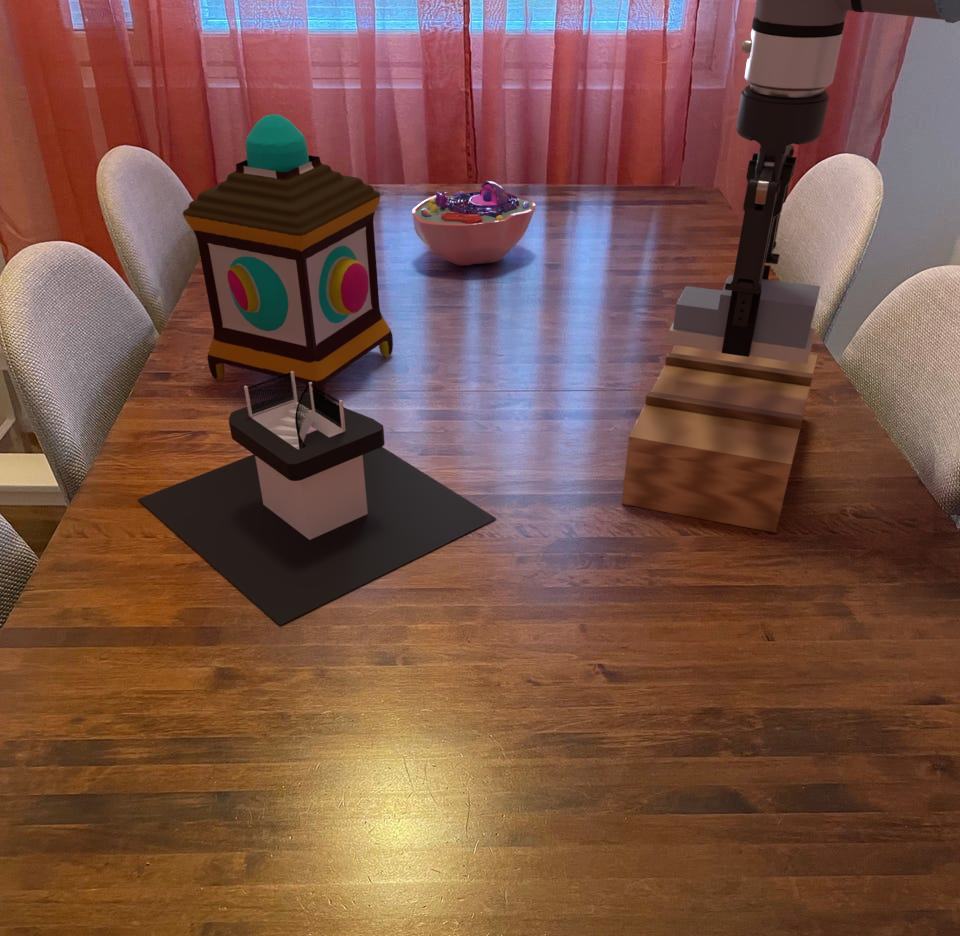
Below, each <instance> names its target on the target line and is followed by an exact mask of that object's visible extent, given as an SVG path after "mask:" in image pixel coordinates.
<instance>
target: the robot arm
mask: <svg viewBox="0 0 960 936" xmlns="http://www.w3.org/2000/svg"><path fill="white" fill-rule="evenodd" d="M848 12H854V13H855V12H856V13H875V14H884V15H895V16H903V17H904V16H905V17H906V16H907V17H915V18H921V19H922V18H923V19H933V20H943V21H945V22H946V23H948V24H955V23H958V22H960V0H755V6H754V13H753V18H752V24H751V28H752V29H751V32H750V38H751V39H745V40H743V42H742V44H741V49H740V50H741V51H742V52H743V53H745V54H749V57H747V59H746V65H745V72H744V79H745V81H746V82H747V83H748V85H747V86H745V87H744V89H743V90H741V93H740V99H739V106H738V112H737V119H736V126H735V129H736V132H737V134H738V135H739V137H741V138H743V139H745V140H748V141H755V142H757V144H759V145H760V146H759V151H758V152H756V153H755V152H753V153H752V157H751V159H749V161H748V166H747V170H746V177H745V178H746V181H747V185H746V190H745V195H744V201H743V206H742V207H743V208H742V209H743V212H744V213H743V220H742V225H741V231H740V236H739V242H738V248H737V253H736V258H735V259H736V260H735V265H734V270H733V275H734V276H733V280H732V281H731V283H726V282H725V283H726V285H725V284H724V286H725V290H731V291H732V294H731V300H730V306H729V312H728V318H727V323H726V329H725V335H724V341H723V347H722V353H725V354H731V355H738V356H745V357H749V355H750V350H751V344H752V339H753V334H754V329H755V323H756V318H757V313H758V307H759V302H760V297H761V292H762V290H761V288H762V285H761V281H762V279H767V280H769V276H770V271H771V267H772V266H771V265H779V260H780V253H773V252H774V250H775V248H776V247H777V241H776V240H777V235H778V230H779V224H780V219H781V213H782V210H783V207H784V204H785V203H786V201H787V197H788V194H789V189H790V183H791V181H792V178H793V176H794V174H795V169H796V165H797V159H798V157H797V156H794V154H795V147H794V144H795V145H796V146H797V145H805V144H810V143H813V142H815V141H816V140H819V138H820V137H821V135H822V133H823V130H824V124H825V120H826V114H827V109H828V106H829V105H828V104H829V100H830V95H829V94H828V91H827V90H826V89H827V88H828V87H830V86H831V85H832V84H833V82H834V79H835V74H836V70H837V66H838V65H837V64H838V61H839V60H838V59H839V55H840V51H841V45H842V41H843V35H844V28H845V21H846V17H847V13H848ZM766 264H771V265H766Z"/></svg>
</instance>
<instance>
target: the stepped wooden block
mask: <svg viewBox="0 0 960 936" xmlns="http://www.w3.org/2000/svg"><path fill="white" fill-rule="evenodd" d="M817 359H818V354H812V353H810V355H809V359H808V363H807V364H802V363H795V362H788V361H781V360H775V359H768V358H761V357H754V356H749V357H745V356H738V355H731V354H725V353H722V352H720V351H713V350H706V349H699V348H692V347H685V346H678V345H673V348H672V349H671V352H667V354H666V356H665V361H664V362H665V363H664V366H663V368H662V370H661V372H660V373H659V376H658V378H657V380H656V382H655V383H654V386H653V388H652V390H648V392H647V394H646V395H645V401H644V406H643V408H642V410H641V411H640V414H639V416H638V417H637V420H636V421H635V423H634V426H633V428H632V429H631V431H630V433H629V435H628V441H627V451H626V458H625V459H626V461H625V469H624V478H623V486H622V487H623V488H622V496H621V504H622V505H626V506H632V507H637V508H641V509H646V510H647V509H648V510H653V511H658V512H663V513H668V514H672V515H673V514H674V515H678V516H684V517H688V518H695V519H700V520H704V521H710V522H715V523H721V524H727V525H732V526H737V527H743V528H749V529H753V530H758V531H763V532H769V533H773V534H774V533H776V532H777V529H778V524H779V520H780V516H781V513H782V508H783V504H784V500H785V496H786V491H787V487H788V483H789V478H790V474H791V470H792V466H793V461H794V457H795V453H796V449H797V444H798V440H799V436H800V432H801V428H802V424H803V420H804V416H805V412H806V407H807V403H808V398H809V394H810V390H811V386H812V382H813V377H814V373H815V370H816V365H817Z"/></svg>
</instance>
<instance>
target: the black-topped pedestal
mask: <svg viewBox="0 0 960 936" xmlns="http://www.w3.org/2000/svg"><path fill="white" fill-rule="evenodd" d="M287 375H288V377H289V375H290V378H289V379H288V378H287V379H286V376H287ZM284 376H285V379H284ZM282 377H283V378H282ZM243 389H244V395H245V402H246V406H244V407H242V408H239V409H236V410H233V411H232V412H230V414H229V417H228V424H229V425H228V426H229V430H230V435H231V436H230V437H231V439H232V440H233V441H234V442H236V443H237V444H238V445H240V446H241V447H243V448H244V449H245V450H247V451H248V452H249V453H251V454H250V455H248V456H246V457H244V458H240V459H238V460H236V461H233V462H231V463H228V464H225V465H222V466H220V467H217V468H214V469H212V470H209V471H207V472H204V473H201V474H199V475H197V476H194V477H191V478H188V479H186V480H183V481H180V482H178V483H175V484H173V485H171V486H168V487H165V488H163V489H160V490H157V491H154V492H152V493H150V494H148V495H144V496H142V497H139V498H137V500H138V501H139V502H140V504H142V505H143V506H144V507H145V508H147V510H148V511H150V512H151V513H153V514H154V515H155V517H157V518H158V519H159V520H160V521H161V522H163V523H164V525H166V526H167V527H168V528H169V529H170V530H171V531H173V532H174V533H175V534H176V535H177V536H178V537H180V539H181V540H183V541H184V542H185V543H186V544H187V545H189V546H190V547H191V548H192V549H193V550H194V552H196V553H198V554H199V555H200V556H201V557H202V558H203V559H204V560H206V562H208V563H209V564H210V565H211V566H213V568H214V569H215V570H217V571H218V572H219V573H220V574H221V575H222V576H223V577H225V578H226V579H227V580H228V581H229V582H230V583H232V585H233V586H234V587H236V588H237V589H238V590H239V591H240V592H241V593H243V594H244V595H245V596H246V597H247V598H248V599H249V600H250V601H251V602H253V603H254V604H255V605H256V606H257V607H259V608H260V610H262V612H264V613H265V614H267V616H269V617H270V618H271V619H272V620H273V621H274V622H275V623H276V624H278V625H279V626H282V625H284V624H286V623H288V622H290V621H291V620H292V621H293V620H294V619H296V618H299V617H300V616H302V615H304V614H307V613H308V612H311V611H313V610H314V609H316V608H319V607H320V606H322V605H324V604H326V603H328V602H330V601H332V600H335V599H337V598H339V597H341V596H343V595H345V594H347V593H349V592H351V591H353V590H355V589H357V588H359V587H361V586H363V585H365V584H367V583H369V582H371V581H373V580H375V579H377V578H379V577H381V576H383V575H385V574H387V573H389V572H392V571H394V570H395V569H398V568H400V567H402V566H404V565H405V564H407V563H409V562H412V561H413V560H416V559H418V558H420V557H422V556H424V555H426V554H428V553H429V552H432V551H434V550H435V549H438V548H440V547H442V546H444V545H446V544H448V543H450V542H452V541H454V540H457V539H459V538H460V537H462V536H464V535H466V534H468V533H470V532H472V531H475V530H476V529H478V528H480V527H482V526H484V525H487V524H489V523H491V522H493V521H495V520H496V519H498V518H497V517H495V516H493V515H492V514H491V513H489V512H488V511H486V510H484V509H483V508H482V507H479V506H477V504H474V503H473V502H472V501H470V500H469V499H467V498H465V497H463V496H462V495H461V494H459V493H458V492H455V491H454V490H453V489H451V488H449V487H447V486H446V485H444V484H443V483H441V482H439V481H438V480H436V479H434V478H432V477H431V476H429V475H428V474H426V473H425V472H423V471H422V470H421V469H419V468H417V467H415V466H414V465H412V464H410V463H409V462H407V461H406V460H404V459H402V458H401V457H399V456H398V455H396V454H394V453H393V452H391V451H390V450H388V449H387V448H385V447H384V446H385V443H386V442H385V428H384V424H382V423H380V422H379V421H377V420H375V419H374V418H372V417H369V416H367V415H365V414H362V413H360V412H357V411H354V410H352V409H350V408H347V407H345V406H344V401H343V400H342V399H337V398H336V397H334V396H332V395H330V394H329V393H328V392H324V391H322V390H321V389H319V388H317V387H316V386H314V385H312V382H309V384H308V385H306V387H305V389H304V390H303V391H302V390H297V385H296V381H295V377H294V372H293V371H291V372H290V373H287V374H284V375H282V376H279V377H276V376H275V377H273V378H270V379H267V380H264V381H262V382H259V383H255V384H253V385H249V386H248V385H244V386H243ZM313 389H317V390H318V391H317V392H315V391H314V390H313ZM317 393H318V394H317ZM323 393H324V394H325V396H322V395H320V394H323ZM315 394H316V395H315ZM324 398H325V399H324ZM311 427H312V428H314V429H315V430H314V431H310V432H309V430H310V429H311Z"/></svg>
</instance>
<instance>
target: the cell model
mask: <svg viewBox="0 0 960 936" xmlns="http://www.w3.org/2000/svg"><path fill="white" fill-rule="evenodd" d="M536 207H537V205H536V203H535V202H534V201H533V200H531V199H529V198H526V197H524V196H522V195H520V194H516V193H514V192H513V193H512V192H508V191H506V190H505V188H504V187H503V186H501V184H499V183H497V182H495V181H490V180H489V181H488V180H486V181H484V182H483V183H482V184H481V187H480V188H476V189H466V190H450V191H445V192H440V191H437V192H436V194H435V195H433V196H429V197H428V198H426V199H425V200H423V201H421V202H420V203H418V204H417V205H415V206H414V207H413V208H412V209H411V214H412V222H413V228H414V232H415V234H416V236H417V237H418V238H419V240H420V241H421V242H422V243H423V244H424V245H425V246H426V247H427V248H428V250H430V252H432V253H433V255H435V256H437V257H439V258H440V259H442V260H444V261H447V262H450V263H451V264H453V265H456V266H472V265H482V264H483V265H485V264H492V263H496V262H500V261H501V260H502V259H504V258H505V257H506V256H507V255H508V254H509V253H510V252H511V251H512V249H514V248H515V247H516V245H517V244H518V243H519V242H520V241H521V240H522V239H523V237H524V236H525V234H526V232H527V230H528V229H529V226H530V224H531V221H532V219H533V216H534V213H535V211H536Z"/></svg>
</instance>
